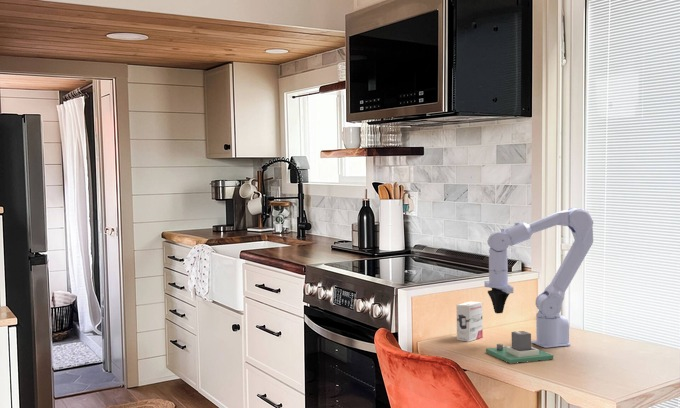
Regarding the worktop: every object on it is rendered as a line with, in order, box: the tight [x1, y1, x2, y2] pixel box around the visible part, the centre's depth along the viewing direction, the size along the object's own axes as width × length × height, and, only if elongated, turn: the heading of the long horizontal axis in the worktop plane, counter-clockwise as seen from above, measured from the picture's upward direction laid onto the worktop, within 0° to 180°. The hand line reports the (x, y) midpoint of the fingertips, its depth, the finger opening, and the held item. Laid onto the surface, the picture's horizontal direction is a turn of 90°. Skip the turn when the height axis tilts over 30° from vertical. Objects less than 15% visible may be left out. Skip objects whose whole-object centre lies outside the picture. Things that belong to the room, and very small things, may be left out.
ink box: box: [456, 300, 484, 343], centre depth 225 cm, size 8×5×12 cm, turn 137°
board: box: [485, 343, 554, 364], centre depth 203 cm, size 14×14×3 cm
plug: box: [511, 330, 532, 351], centre depth 200 cm, size 4×4×6 cm
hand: (498, 312), depth 217 cm, fingers closed
